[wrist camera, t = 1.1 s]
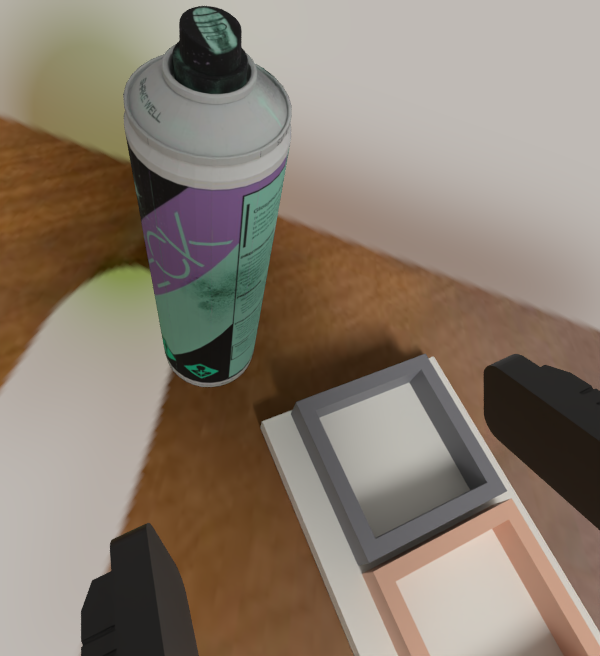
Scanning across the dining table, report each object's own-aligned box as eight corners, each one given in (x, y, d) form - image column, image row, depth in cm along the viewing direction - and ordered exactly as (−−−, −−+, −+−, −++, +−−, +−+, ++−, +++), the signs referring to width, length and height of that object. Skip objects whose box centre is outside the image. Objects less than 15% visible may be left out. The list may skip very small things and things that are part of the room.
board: (411, 794, 22) (440, 822, 19) (260, 427, 29) (265, 409, 26) (599, 657, 26) (646, 664, 23) (426, 364, 33) (446, 342, 30)
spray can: (198, 295, 32) (185, -52, 15) (269, 336, 32) (340, 22, 14) (146, 358, 30) (58, 22, 12) (222, 404, 29) (242, 116, 12)
